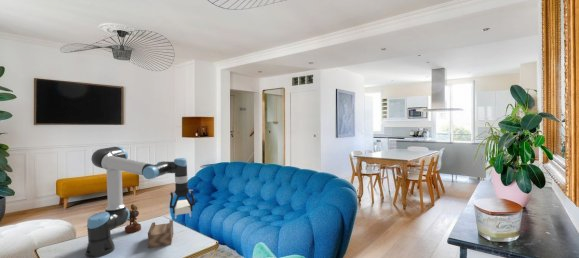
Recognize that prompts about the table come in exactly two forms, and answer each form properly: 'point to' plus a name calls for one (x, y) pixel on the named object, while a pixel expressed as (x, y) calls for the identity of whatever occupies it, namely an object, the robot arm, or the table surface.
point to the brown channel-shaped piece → (160, 234)
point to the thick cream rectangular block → (182, 207)
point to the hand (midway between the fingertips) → (183, 217)
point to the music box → (133, 221)
